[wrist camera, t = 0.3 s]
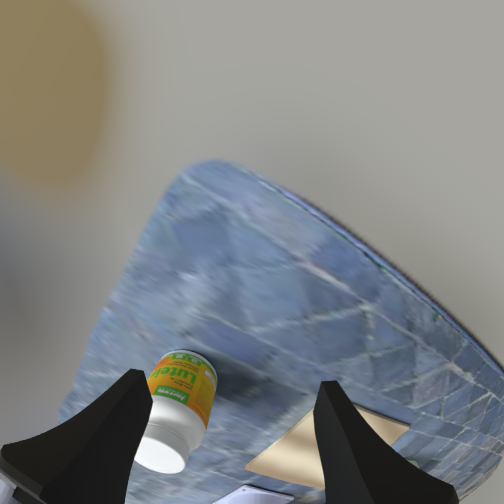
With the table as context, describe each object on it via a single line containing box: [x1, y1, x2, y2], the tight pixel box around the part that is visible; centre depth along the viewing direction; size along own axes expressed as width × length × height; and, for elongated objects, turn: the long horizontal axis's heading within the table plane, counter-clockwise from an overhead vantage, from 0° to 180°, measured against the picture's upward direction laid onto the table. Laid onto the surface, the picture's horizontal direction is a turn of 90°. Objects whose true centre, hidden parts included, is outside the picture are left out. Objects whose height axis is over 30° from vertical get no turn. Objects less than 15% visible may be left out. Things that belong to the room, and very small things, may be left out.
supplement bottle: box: [134, 350, 217, 473], centre depth 17 cm, size 5×5×10 cm
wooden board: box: [245, 404, 410, 489], centre depth 23 cm, size 14×13×1 cm
